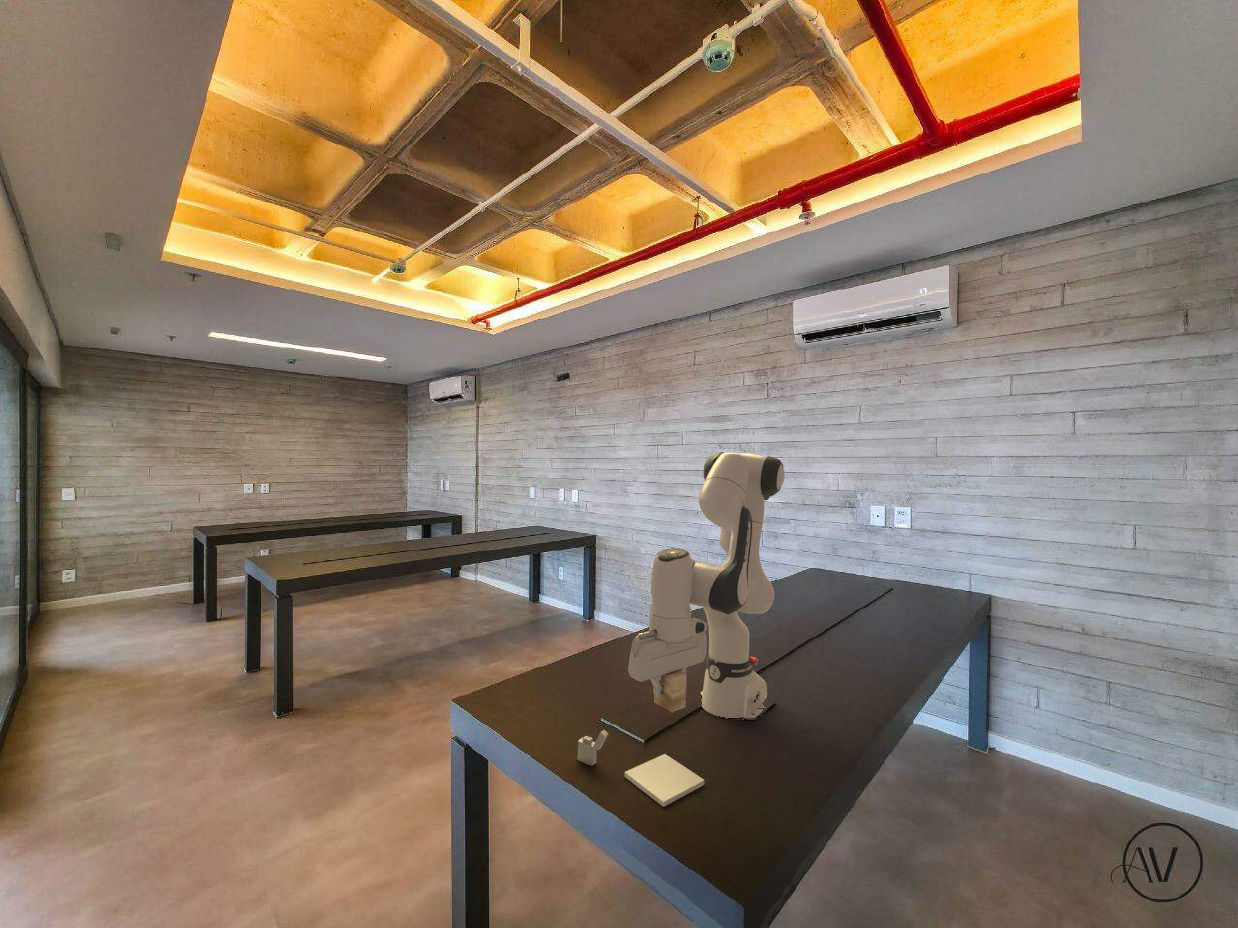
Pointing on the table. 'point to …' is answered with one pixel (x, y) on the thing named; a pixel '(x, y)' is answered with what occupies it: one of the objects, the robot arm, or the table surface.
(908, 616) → the table surface
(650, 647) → the robot arm
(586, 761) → the lighter
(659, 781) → the tile
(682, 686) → the block
